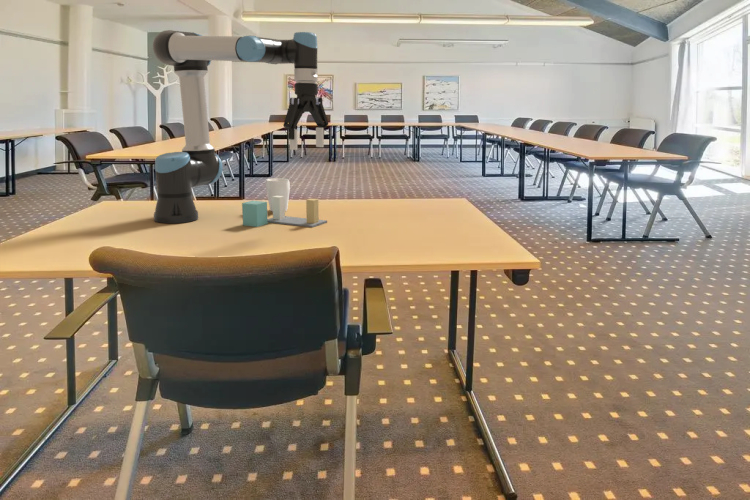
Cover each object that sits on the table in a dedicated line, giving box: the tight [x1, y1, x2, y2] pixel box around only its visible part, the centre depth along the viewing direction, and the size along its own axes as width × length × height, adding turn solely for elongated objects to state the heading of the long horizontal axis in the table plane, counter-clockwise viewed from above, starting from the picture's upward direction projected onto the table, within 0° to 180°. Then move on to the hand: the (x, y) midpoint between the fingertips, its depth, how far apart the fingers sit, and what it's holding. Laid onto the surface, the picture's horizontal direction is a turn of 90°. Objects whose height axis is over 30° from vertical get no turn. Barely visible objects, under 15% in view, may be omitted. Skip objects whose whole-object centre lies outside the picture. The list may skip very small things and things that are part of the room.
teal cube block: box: [241, 200, 269, 228], centre depth 217 cm, size 6×6×8 cm
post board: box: [267, 196, 328, 228], centre depth 222 cm, size 20×10×9 cm, turn 65°
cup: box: [265, 177, 291, 213], centre depth 243 cm, size 9×9×12 cm
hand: (307, 148), depth 210 cm, fingers open, 13 cm apart
